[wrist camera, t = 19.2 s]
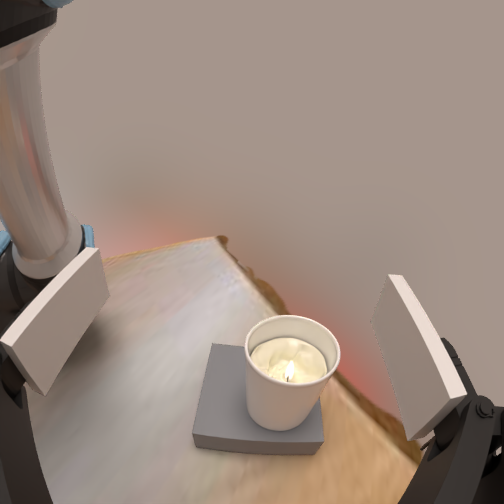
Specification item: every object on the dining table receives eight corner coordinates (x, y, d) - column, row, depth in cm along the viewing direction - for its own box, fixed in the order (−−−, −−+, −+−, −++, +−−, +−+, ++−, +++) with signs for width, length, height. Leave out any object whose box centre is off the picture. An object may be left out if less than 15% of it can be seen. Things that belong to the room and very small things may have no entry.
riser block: (196, 446, 30) (192, 433, 28) (213, 362, 44) (212, 343, 42) (314, 454, 30) (323, 441, 27) (307, 370, 44) (314, 351, 41)
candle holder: (328, 402, 33) (356, 343, 27) (281, 450, 26) (303, 403, 21) (274, 366, 38) (286, 303, 33) (224, 404, 32) (223, 344, 26)
